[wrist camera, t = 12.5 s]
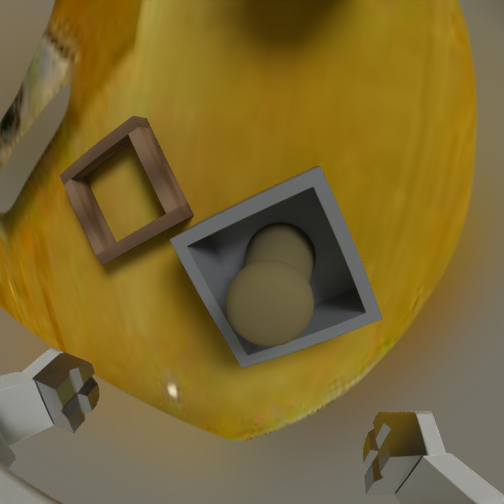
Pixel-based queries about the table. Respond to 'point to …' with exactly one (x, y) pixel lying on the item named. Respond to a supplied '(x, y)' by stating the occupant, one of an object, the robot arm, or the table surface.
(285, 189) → the bin
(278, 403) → the table surface
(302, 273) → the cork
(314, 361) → the table surface
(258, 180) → the table surface
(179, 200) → the socket collar
